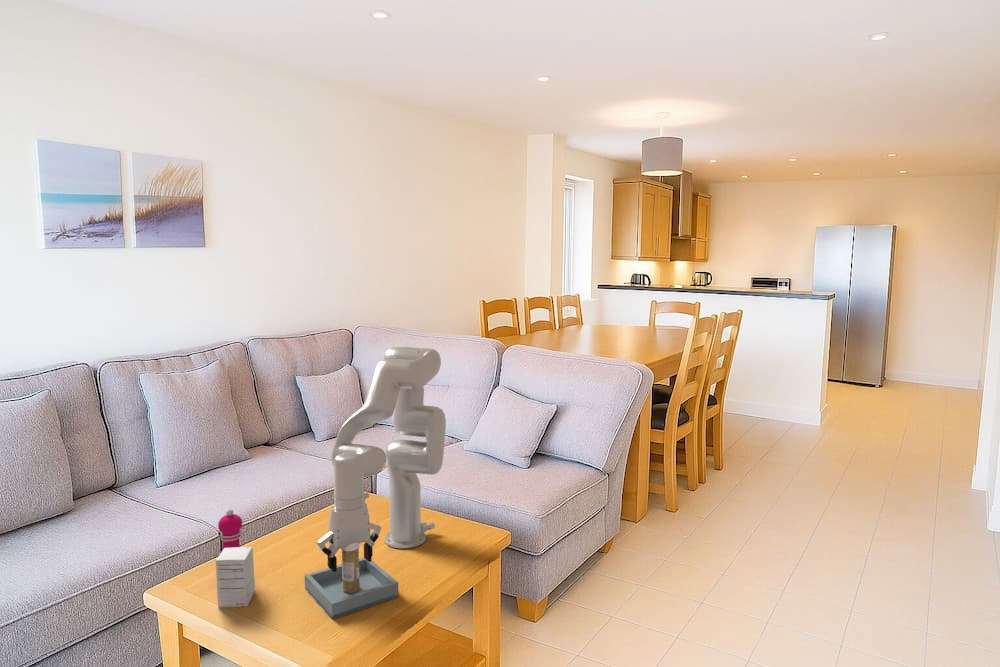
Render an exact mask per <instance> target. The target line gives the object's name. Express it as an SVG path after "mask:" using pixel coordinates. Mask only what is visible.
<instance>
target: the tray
mask: <svg viewBox="0 0 1000 667" xmlns="http://www.w3.org/2000/svg"><path fill="white" fill-rule="evenodd" d="M359 584H360V589H359V590H358V591H356V592H354V593H346V592H344V591H343V578H342V563H341V564H338V565H337V571H336V572H333V571H332V570H331V569H330V568H329V567H328V568H324V569H320V570H316V571H314V572H310V573H306V574H304V590H305V589H306V590H307V591H308V592H307V591H306V590H305V591H306V592H307V593H308V595H309V596H312V597H313V598H314V599H315V600H316V601H315V600H314V599H313V598H312V597H311V598H312V599H313V600H314V601H315V602H316V604H318V605H319V606H321V607H322V608H323V609H324V610H325V611H324V610H323V609H322V608H321V609H322V610H323V611H324V612H325V613H326V615H327V616H328V617H329V618H330V619H331V620H335V619H338V618H341V616H342V617H344V615H345V616H346V615H347V616H348V615H350V614H353V613H356V612H358V611H362V610H365V609H368V608H371V607H374V606H377V605H380V604H383V603H385V602H388V601H391V600H394V599H395V600H396V599H398V598H399V582H398V580H396V578H394V577H392V576H391V575H390V574H389V573H387V571H385V570H384V569H383V568H382V567H381V566H379V565H378V564H377V563H376V562H374V561H373V560H372V561H371V562H368V561H367V560H366V559H365V558H364V557H362V558H359Z"/></svg>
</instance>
